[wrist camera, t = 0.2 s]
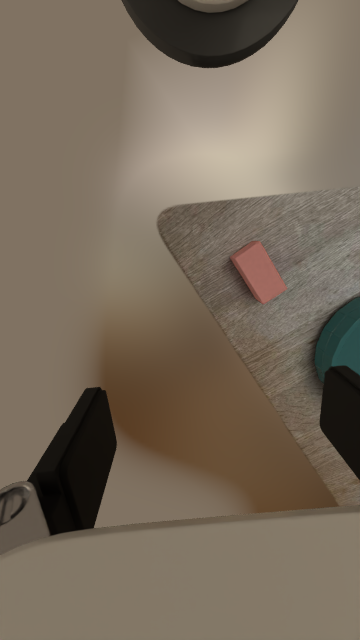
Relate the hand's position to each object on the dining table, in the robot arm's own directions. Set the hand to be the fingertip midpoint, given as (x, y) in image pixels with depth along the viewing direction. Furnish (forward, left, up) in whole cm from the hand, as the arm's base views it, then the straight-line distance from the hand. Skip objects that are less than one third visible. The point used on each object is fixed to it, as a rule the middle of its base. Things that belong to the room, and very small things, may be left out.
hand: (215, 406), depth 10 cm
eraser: (-3, +8, -19) cm, 21 cm away
